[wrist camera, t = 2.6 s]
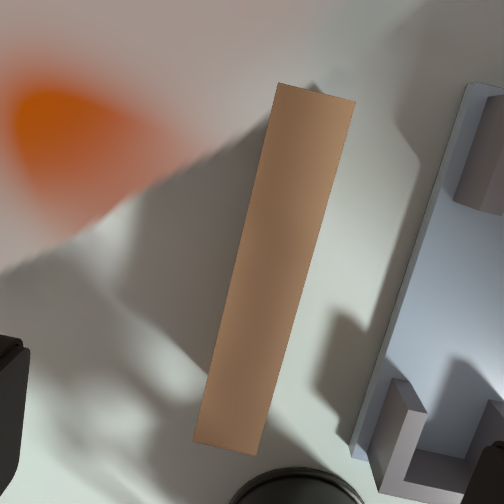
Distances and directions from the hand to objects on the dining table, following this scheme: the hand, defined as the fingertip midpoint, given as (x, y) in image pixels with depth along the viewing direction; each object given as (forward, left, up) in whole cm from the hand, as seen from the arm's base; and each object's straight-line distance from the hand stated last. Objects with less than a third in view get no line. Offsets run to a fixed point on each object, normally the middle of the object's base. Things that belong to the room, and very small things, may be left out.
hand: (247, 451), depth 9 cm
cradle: (-12, 0, -16) cm, 20 cm away
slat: (0, 0, -16) cm, 16 cm away
